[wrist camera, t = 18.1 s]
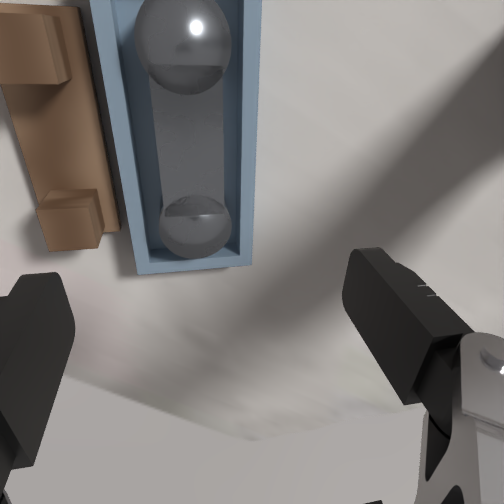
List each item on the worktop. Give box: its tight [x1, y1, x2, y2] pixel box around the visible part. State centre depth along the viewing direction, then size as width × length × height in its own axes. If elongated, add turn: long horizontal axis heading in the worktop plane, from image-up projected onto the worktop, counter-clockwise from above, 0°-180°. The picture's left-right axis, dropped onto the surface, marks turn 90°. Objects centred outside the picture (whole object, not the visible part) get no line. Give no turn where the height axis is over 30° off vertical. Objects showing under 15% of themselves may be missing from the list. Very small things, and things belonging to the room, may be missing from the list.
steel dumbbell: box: [134, 0, 232, 259], centre depth 22 cm, size 5×16×4 cm, turn 178°
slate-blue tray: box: [90, 0, 262, 275], centre depth 23 cm, size 9×20×2 cm, turn 178°
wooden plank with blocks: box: [0, 3, 121, 252], centre depth 21 cm, size 5×14×4 cm, turn 178°
